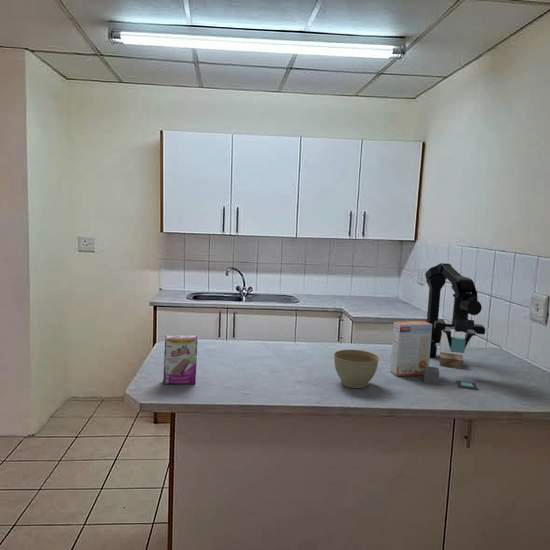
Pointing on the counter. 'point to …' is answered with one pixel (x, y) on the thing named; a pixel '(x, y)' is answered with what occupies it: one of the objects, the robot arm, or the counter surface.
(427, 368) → the charcoal cube
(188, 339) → the candy bar box
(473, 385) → the tile
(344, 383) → the planter bowl
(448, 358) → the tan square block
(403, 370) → the cracker box
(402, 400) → the counter surface
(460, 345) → the teal cube
